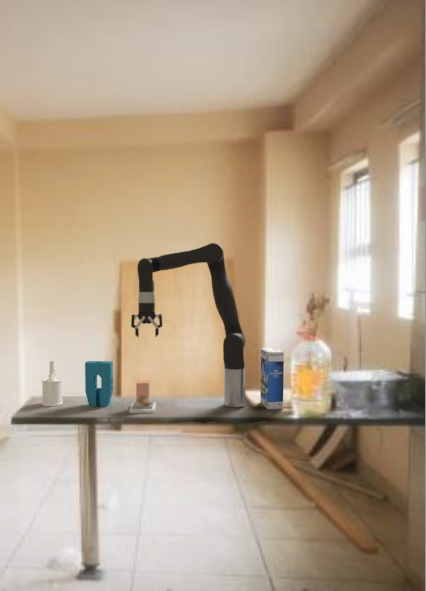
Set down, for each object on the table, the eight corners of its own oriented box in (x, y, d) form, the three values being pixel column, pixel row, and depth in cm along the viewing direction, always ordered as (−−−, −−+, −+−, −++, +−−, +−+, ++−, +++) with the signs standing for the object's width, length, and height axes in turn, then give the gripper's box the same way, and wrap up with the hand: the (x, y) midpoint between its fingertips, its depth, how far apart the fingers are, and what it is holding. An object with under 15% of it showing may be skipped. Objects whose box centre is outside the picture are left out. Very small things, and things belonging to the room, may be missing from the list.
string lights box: (260, 402, 244) (260, 347, 243) (275, 401, 246) (275, 347, 244) (267, 409, 231) (268, 352, 230) (284, 408, 233) (284, 351, 231)
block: (113, 404, 242) (113, 361, 241) (110, 406, 237) (110, 363, 236) (88, 403, 243) (88, 361, 242) (85, 406, 238) (84, 362, 237)
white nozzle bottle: (42, 402, 245) (41, 360, 244) (62, 400, 248) (62, 359, 247) (41, 408, 235) (41, 364, 234) (63, 406, 238) (62, 362, 237)
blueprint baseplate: (156, 405, 240) (156, 400, 240) (154, 412, 227) (154, 408, 227) (132, 405, 239) (132, 401, 239) (129, 413, 226) (129, 408, 226)
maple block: (149, 404, 236) (149, 392, 236) (149, 407, 230) (148, 395, 230) (137, 404, 235) (137, 392, 235) (136, 408, 230) (136, 395, 230)
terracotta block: (149, 392, 236) (149, 380, 235) (148, 395, 230) (148, 383, 230) (137, 392, 235) (137, 380, 235) (136, 395, 230) (136, 383, 229)
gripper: (162, 301, 245) (162, 335, 245) (131, 301, 244) (132, 335, 244) (161, 302, 237) (162, 337, 238) (130, 302, 236) (130, 337, 237)
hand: (146, 336), depth 241 cm, fingers open, 8 cm apart
